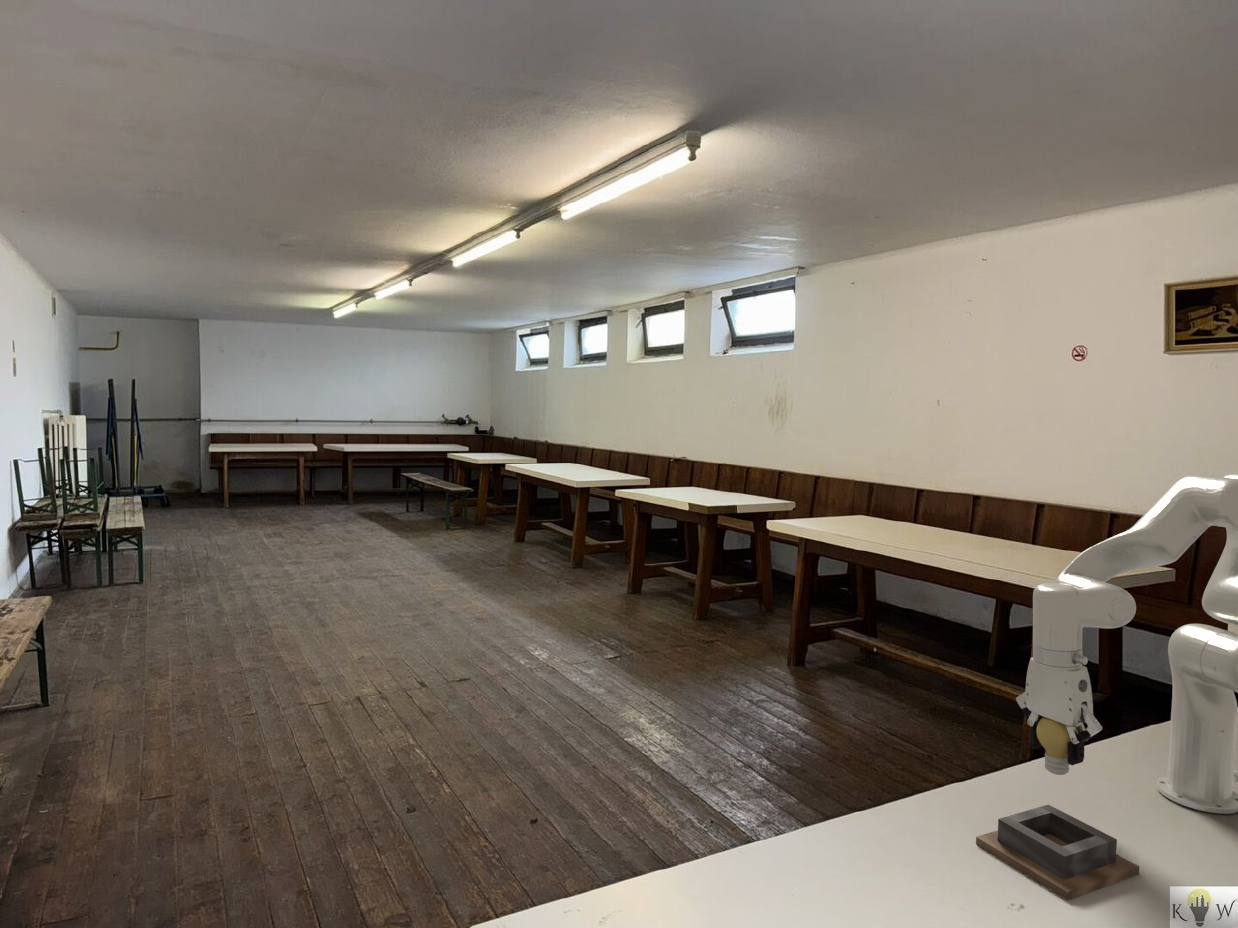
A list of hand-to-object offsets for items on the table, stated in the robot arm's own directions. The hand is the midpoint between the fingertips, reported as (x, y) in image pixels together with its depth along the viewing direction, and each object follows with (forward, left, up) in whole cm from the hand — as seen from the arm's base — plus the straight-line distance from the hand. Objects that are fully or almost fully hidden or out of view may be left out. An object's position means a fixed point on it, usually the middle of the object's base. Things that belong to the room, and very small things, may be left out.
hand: (1056, 754), depth 138 cm
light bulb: (0, 0, -3) cm, 3 cm away
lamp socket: (+14, +11, -10) cm, 20 cm away
